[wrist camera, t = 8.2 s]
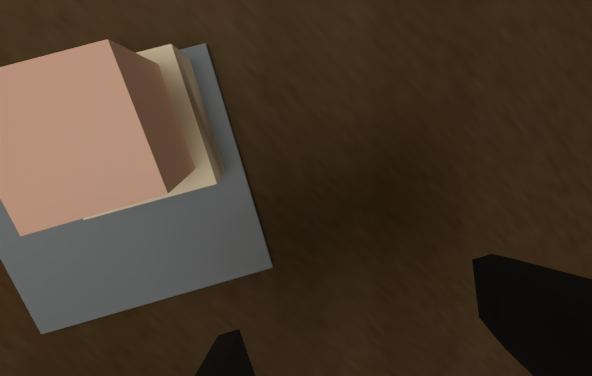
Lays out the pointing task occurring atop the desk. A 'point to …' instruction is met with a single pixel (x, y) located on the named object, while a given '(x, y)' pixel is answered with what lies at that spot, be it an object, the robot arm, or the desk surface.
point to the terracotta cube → (86, 135)
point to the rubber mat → (143, 240)
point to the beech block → (186, 121)
